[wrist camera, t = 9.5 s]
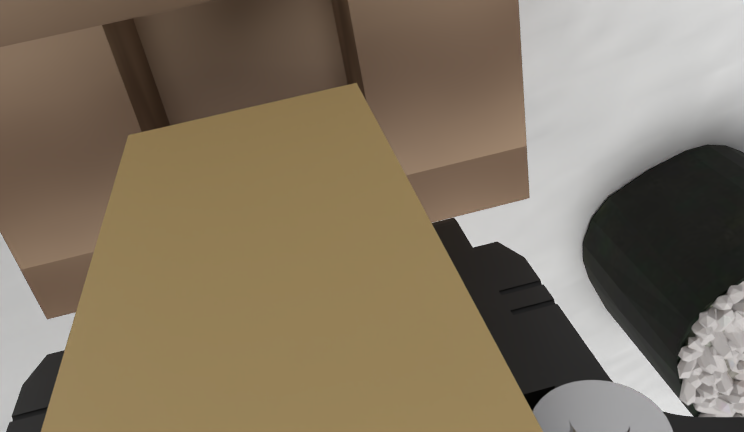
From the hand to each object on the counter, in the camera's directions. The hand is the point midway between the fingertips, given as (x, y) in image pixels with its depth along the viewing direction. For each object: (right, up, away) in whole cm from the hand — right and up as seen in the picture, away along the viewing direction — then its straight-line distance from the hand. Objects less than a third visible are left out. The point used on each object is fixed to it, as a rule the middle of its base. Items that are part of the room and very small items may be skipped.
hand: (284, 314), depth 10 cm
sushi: (+14, +1, +19) cm, 23 cm away
